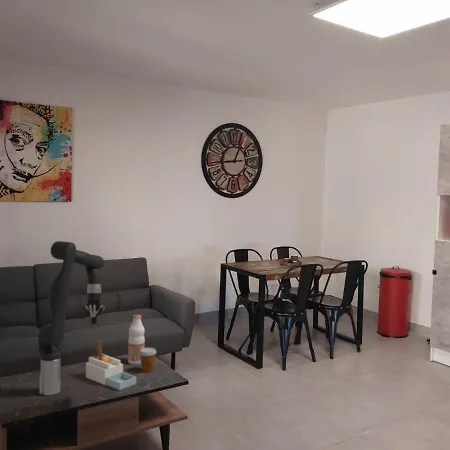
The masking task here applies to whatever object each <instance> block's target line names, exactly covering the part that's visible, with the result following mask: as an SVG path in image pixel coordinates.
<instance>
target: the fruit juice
mask: <svg viewBox="0 0 450 450" xmlns="http://www.w3.org/2000/svg"><path fill="white" fill-rule="evenodd" d="M142 322H143V321H142V315H141V314H134V315H132V323H131V324H130V327H129V328H128V334H129V336H128V340H127V341H128V345H127V347H128V348H127V349H128V351H127V353H128V356H127V362H128V364H130V365H135V366H137V365H141V358H140V353H139V352H140V350H141V349H142V348H146V347H145V346H146V345H145V342H146V341H145V333H146V332H145V327H144V325H143V323H142Z"/></svg>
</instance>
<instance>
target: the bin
mask: <svg viewBox="0 0 450 450" xmlns="http://www.w3.org/2000/svg"><path fill="white" fill-rule="evenodd" d="M136 385H137V376H135V375H132V374H130V373H127V372H124V371H123V372H120V373H117V374H115V375H112V376H109V377H106V385H105V386H107V387H110V388H112V389H114V390H117V391H123V390H125V389H128V388H131V387H134V386H136Z"/></svg>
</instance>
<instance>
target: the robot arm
mask: <svg viewBox="0 0 450 450" xmlns="http://www.w3.org/2000/svg"><path fill="white" fill-rule="evenodd" d="M50 255H51V257H52V258H53V259H56V260H61V261H62V265H61V269H60V271H59V273H58V274H57V275H56V277H54V279H53V280H52V282H51V283H50V286H49V290H48V296H47V300H48V305H49V309H50V312H51V313H50V314H51V316H52V317H51V325H50V324H46V325H45V324H44V325H43V326H42V327H41V328H40V330H39V333H38V353H39V355H40V374H39V395H44V396H53V395H56V394H59V393H60V392H61V351H60V350H59V349H58V348H57V347H59V346H60V345H61V344H62V342H63V341H64V337H65V328H66V327H65V323H66V312H67V304H68V298H69V291H70V284H71V283H70V282H71V276H72V273H73V267H74V264H78V265H80V266H84V268H85V272H86V275H87V276H86V277H87V287H86V288H87V289H86V290H87V291H86V293H87V295H86V300H87V301H86V305H85V306H84V307H82V310H83V311H84V313H85V314H86V315H87V317H90V323H91V325H96V324H97V323H98V317H100V316H102V314H103V312H104V311H105V309H106V306H104V305H103V304H102V280H101V279H102V278H101V274H100V273H98V272H95V271H94V270H99V269H102V268H104V266H105V260H104V258H103V257H102V256H100V255H96V254H90V253H89V252H86V251H83V250H79V249H77V245H76V244H75V243H74V242H72V241H71V242H70V241H61V240H58V241H55V242H53V243H52V245H51V247H50Z"/></svg>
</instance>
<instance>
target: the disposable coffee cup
mask: <svg viewBox="0 0 450 450" xmlns="http://www.w3.org/2000/svg"><path fill="white" fill-rule="evenodd" d="M139 353H140V358H141V364H140V366H141V372H143V373H146V374H149V373H153V372H154V369H155V362H156V361H155V360H156V355H157V349H156V348H155V347H145V348H142V349H141V350H140V352H139Z"/></svg>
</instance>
